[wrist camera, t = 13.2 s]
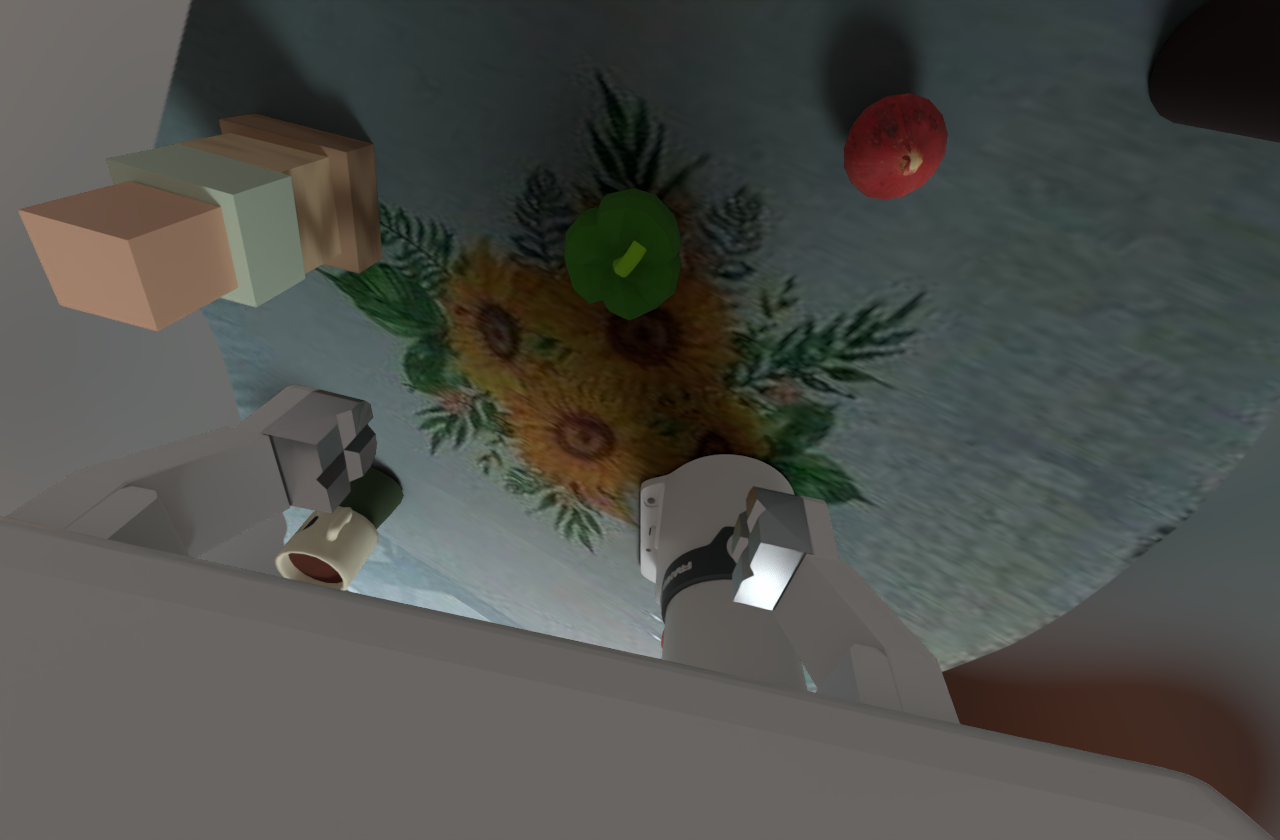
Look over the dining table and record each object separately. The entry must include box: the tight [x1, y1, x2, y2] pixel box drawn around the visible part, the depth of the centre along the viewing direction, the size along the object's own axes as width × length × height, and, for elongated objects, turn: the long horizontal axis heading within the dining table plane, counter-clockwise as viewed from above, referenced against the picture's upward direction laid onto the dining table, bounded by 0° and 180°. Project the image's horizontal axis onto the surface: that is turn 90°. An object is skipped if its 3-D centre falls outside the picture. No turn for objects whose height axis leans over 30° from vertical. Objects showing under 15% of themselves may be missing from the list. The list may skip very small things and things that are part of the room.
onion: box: [844, 93, 948, 200], centre depth 33 cm, size 6×6×8 cm
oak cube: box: [172, 133, 342, 274], centre depth 37 cm, size 7×7×5 cm
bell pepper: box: [564, 188, 681, 320], centre depth 38 cm, size 8×8×10 cm
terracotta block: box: [18, 181, 238, 331], centre depth 29 cm, size 5×5×6 cm
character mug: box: [275, 467, 404, 591], centre depth 57 cm, size 11×7×13 cm, turn 150°
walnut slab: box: [219, 113, 382, 273], centre depth 41 cm, size 9×9×4 cm
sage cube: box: [106, 144, 306, 307], centre depth 33 cm, size 7×7×5 cm
